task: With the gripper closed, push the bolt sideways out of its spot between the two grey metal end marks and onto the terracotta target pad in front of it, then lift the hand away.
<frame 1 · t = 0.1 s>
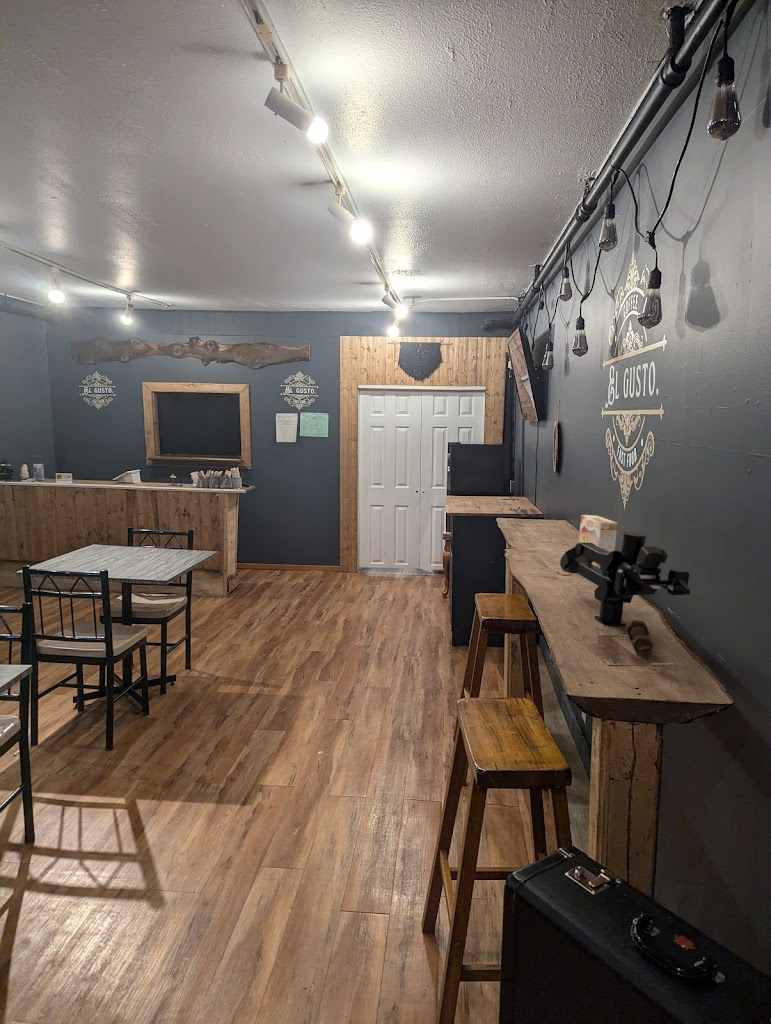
hand: (671, 592, 149), 17 cm above the table, tool horizontal, fingers open, 9 cm apart
bolt: (639, 649, 156), on the table, touching seat and pad
seat and pad: (639, 649, 156), on the table
coffeecake box: (593, 569, 237), on the table
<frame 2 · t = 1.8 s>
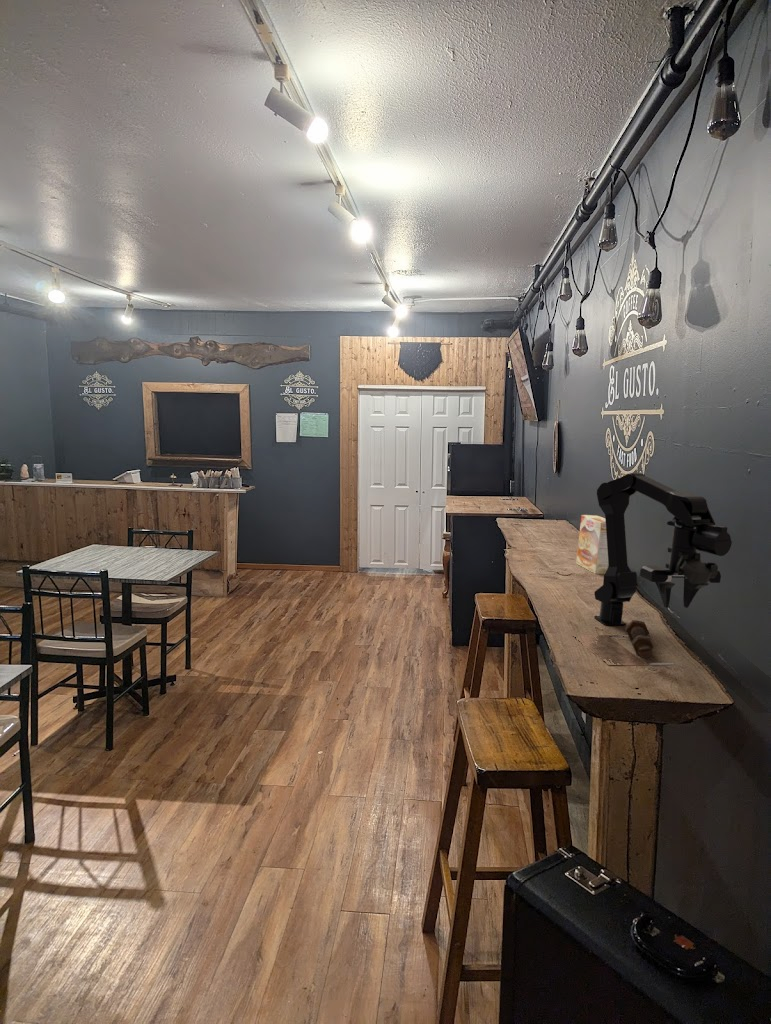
hand: (675, 607, 156), 11 cm above the table, tool pointing down, fingers open, 5 cm apart
nothing on the table moved.
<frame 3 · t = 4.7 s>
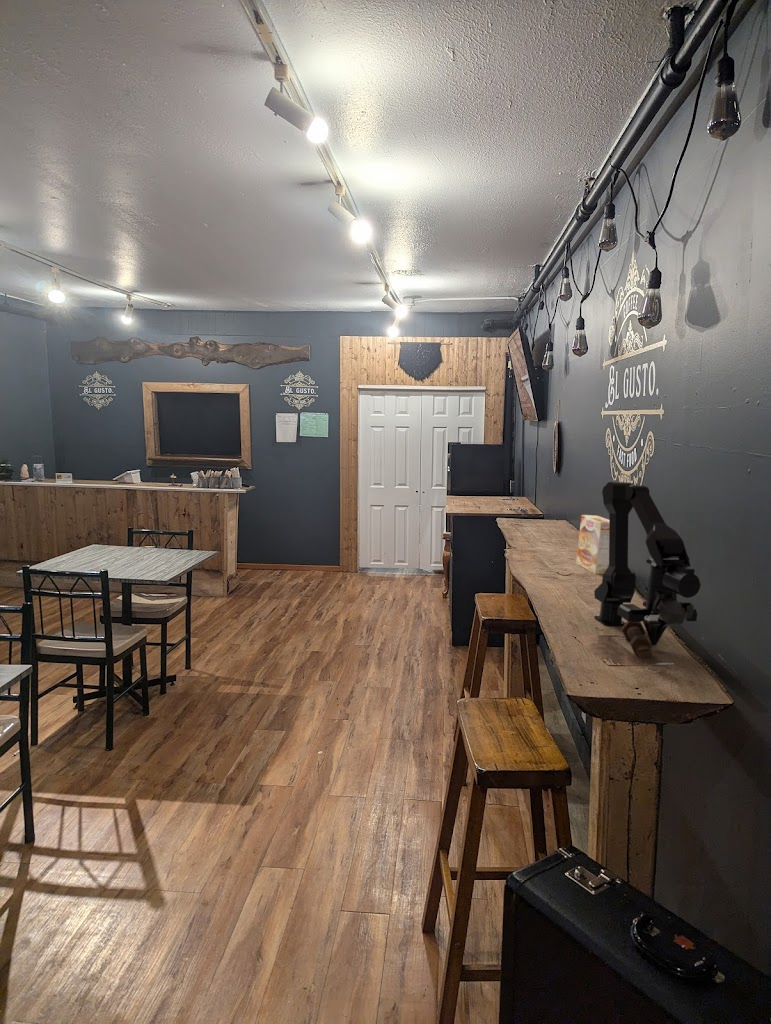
hand: (653, 645, 157), 1 cm above the table, tool pointing down, fingers closed
bolt: (636, 649, 156), on the table, touching gripper
everything else where it was.
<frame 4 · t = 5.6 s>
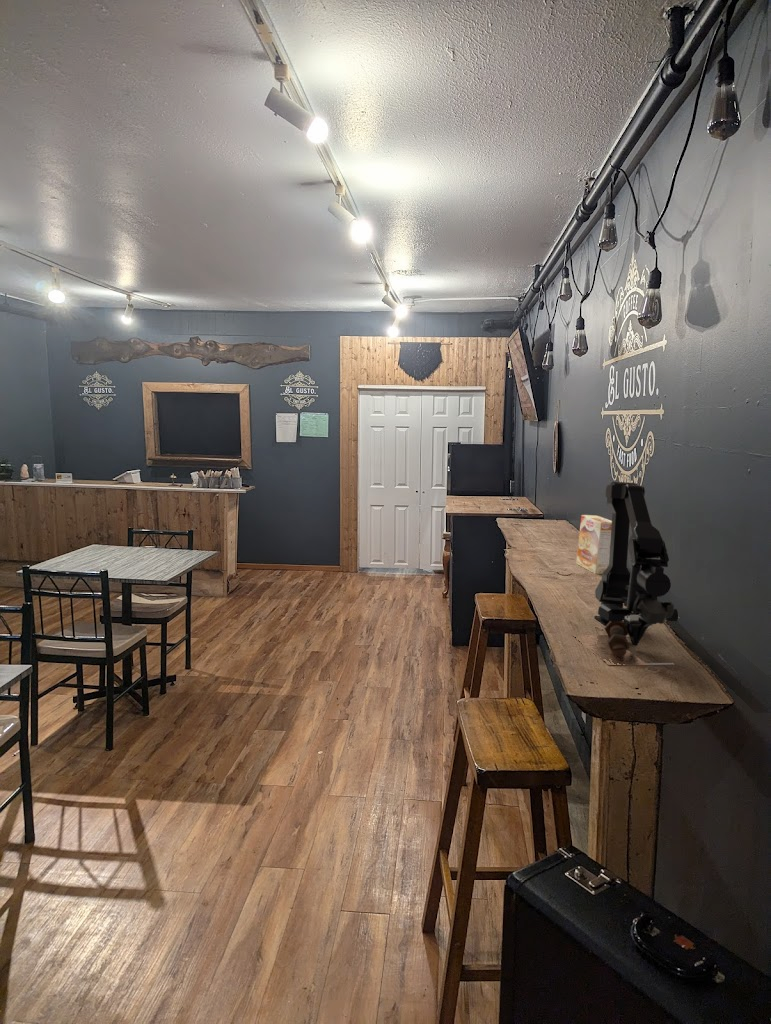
hand: (634, 645, 156), 1 cm above the table, tool pointing down, fingers closed
bolt: (616, 648, 156), resting on seat and pad, touching gripper
everything else where it was.
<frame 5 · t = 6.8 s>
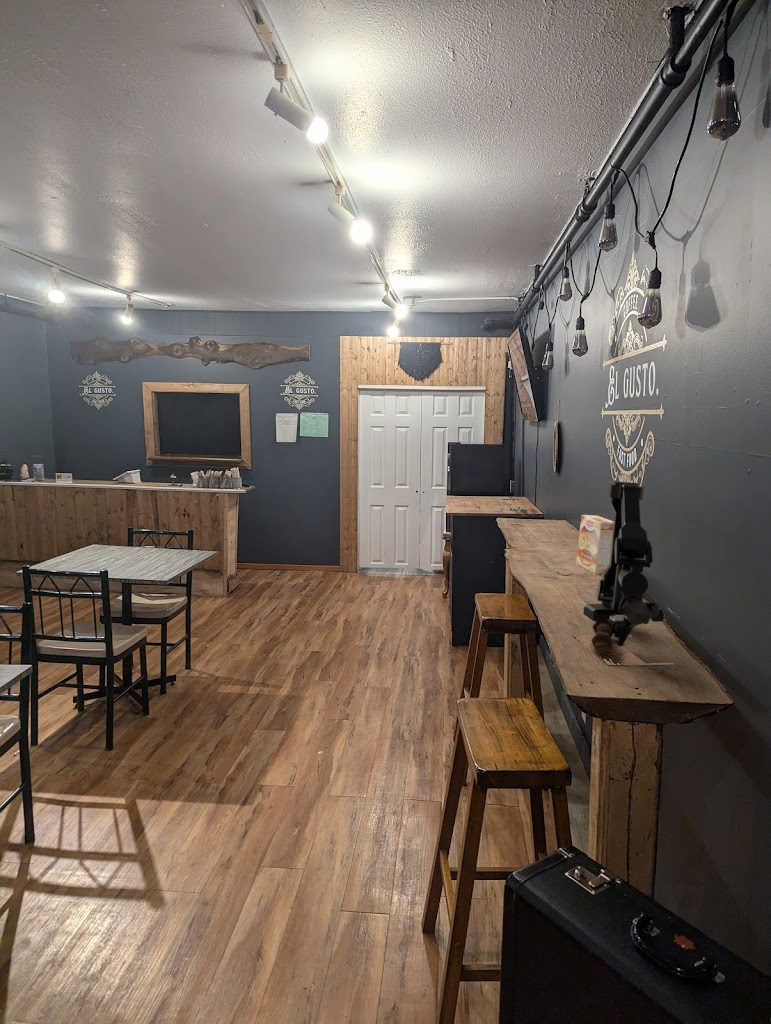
hand: (619, 645, 155), 1 cm above the table, tool pointing down, fingers closed
bolt: (601, 646, 157), resting on seat and pad
everything else where it was.
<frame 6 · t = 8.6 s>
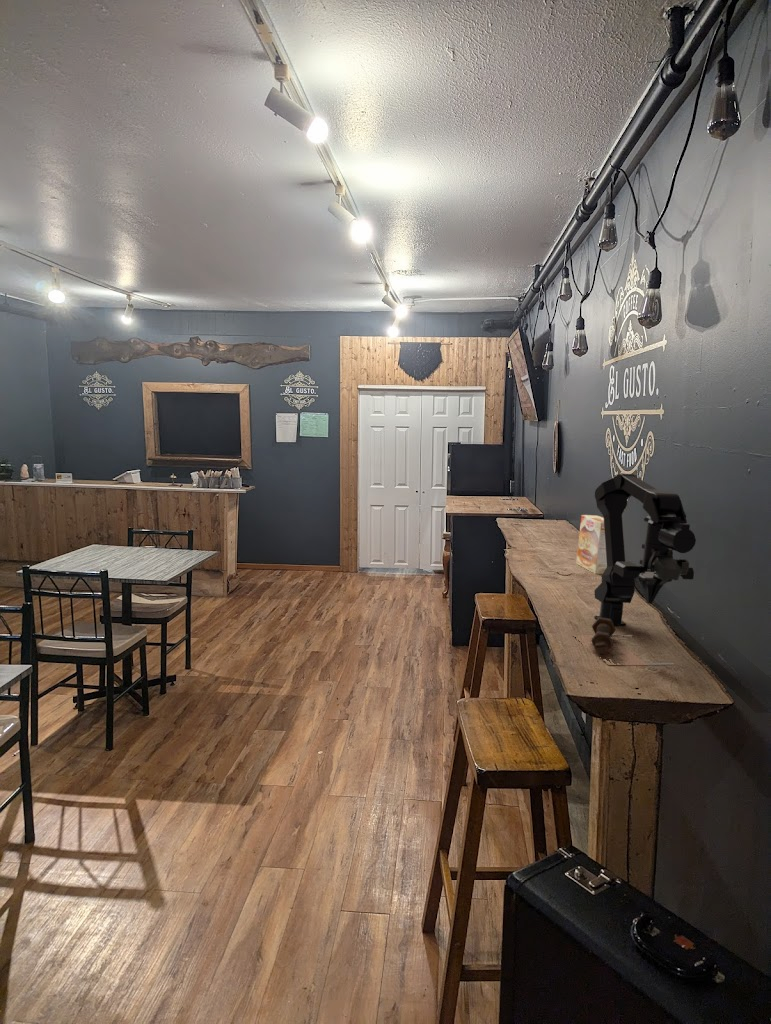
hand: (649, 603, 157), 11 cm above the table, tool pointing down, fingers closed
nothing on the table moved.
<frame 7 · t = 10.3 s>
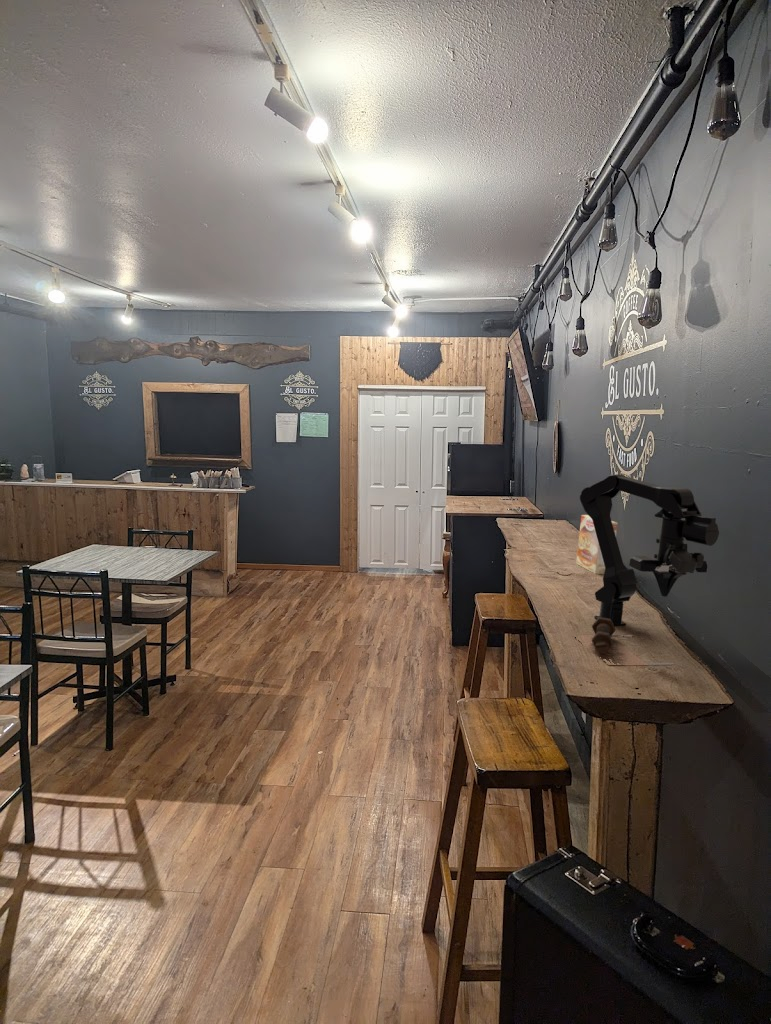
hand: (664, 596, 161), 12 cm above the table, tool pointing down, fingers closed
nothing on the table moved.
at the end: bolt inside the target area (2.5 cm from its centre), resting on seat and pad; bolt moved 9.3 cm from its start; the gripper is holding nothing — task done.
